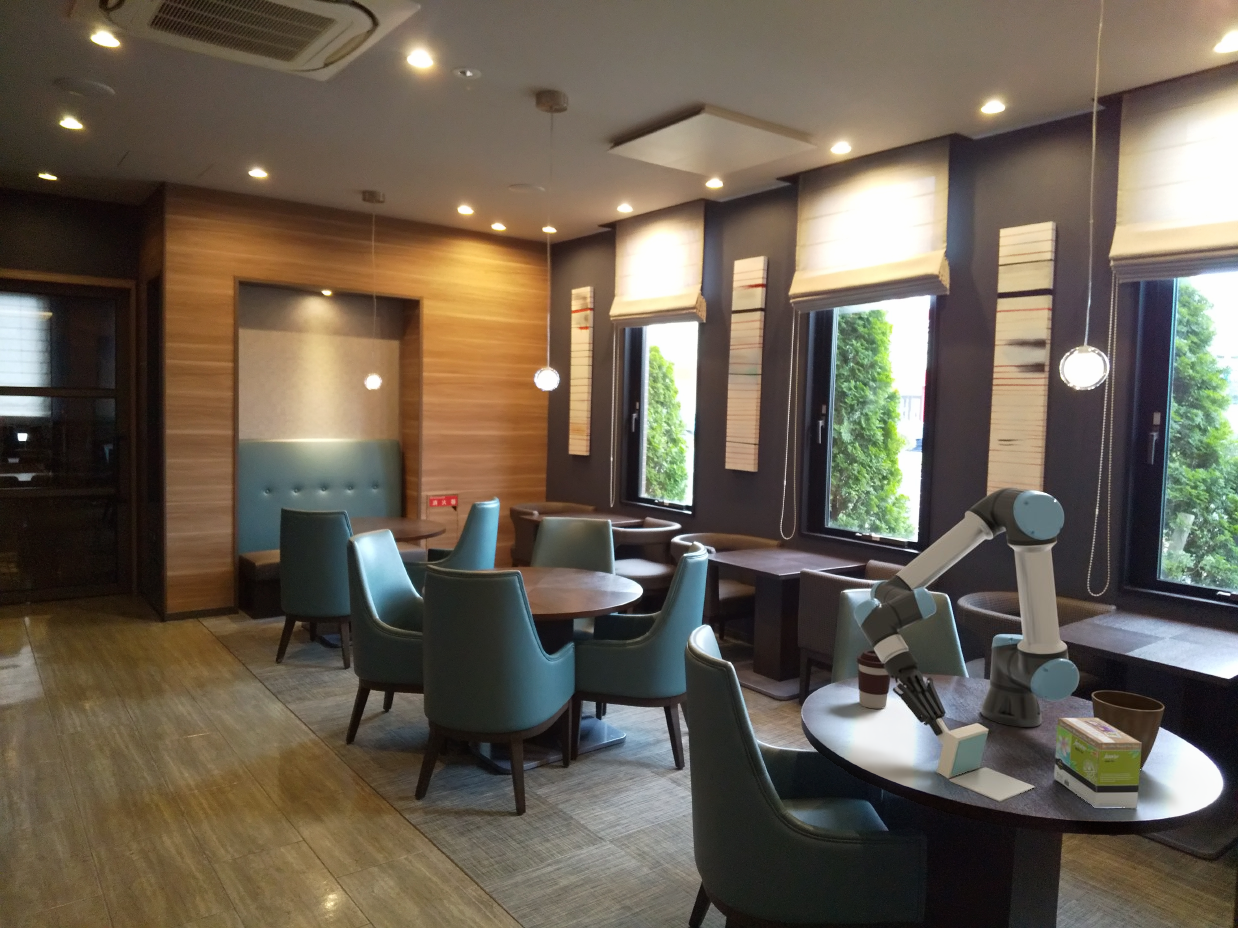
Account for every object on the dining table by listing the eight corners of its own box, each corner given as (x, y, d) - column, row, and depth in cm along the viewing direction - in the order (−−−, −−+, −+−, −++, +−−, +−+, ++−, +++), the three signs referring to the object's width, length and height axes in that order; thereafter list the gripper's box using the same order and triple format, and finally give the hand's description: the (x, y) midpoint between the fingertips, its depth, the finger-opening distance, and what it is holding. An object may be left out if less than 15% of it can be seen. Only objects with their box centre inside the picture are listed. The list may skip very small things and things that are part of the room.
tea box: (1051, 779, 193) (1056, 715, 192) (1093, 779, 194) (1097, 716, 193) (1094, 809, 178) (1099, 740, 177) (1139, 809, 179) (1144, 741, 178)
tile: (967, 761, 200) (977, 722, 198) (980, 768, 197) (990, 729, 195) (936, 771, 193) (946, 731, 191) (949, 779, 191) (959, 739, 189)
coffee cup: (892, 712, 234) (895, 659, 233) (855, 708, 236) (858, 655, 235) (888, 701, 244) (891, 649, 243) (853, 697, 246) (856, 646, 245)
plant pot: (1073, 757, 206) (1077, 693, 206) (1114, 750, 213) (1118, 687, 212) (1132, 782, 193) (1137, 713, 192) (1173, 773, 199) (1178, 706, 198)
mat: (985, 768, 197) (985, 766, 197) (1035, 787, 188) (1035, 786, 188) (949, 780, 189) (949, 779, 189) (999, 801, 180) (999, 800, 180)
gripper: (903, 661, 215) (957, 748, 202) (869, 668, 208) (923, 759, 195) (922, 646, 211) (979, 734, 198) (888, 652, 203) (944, 744, 190)
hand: (951, 746), depth 196 cm, fingers closed
